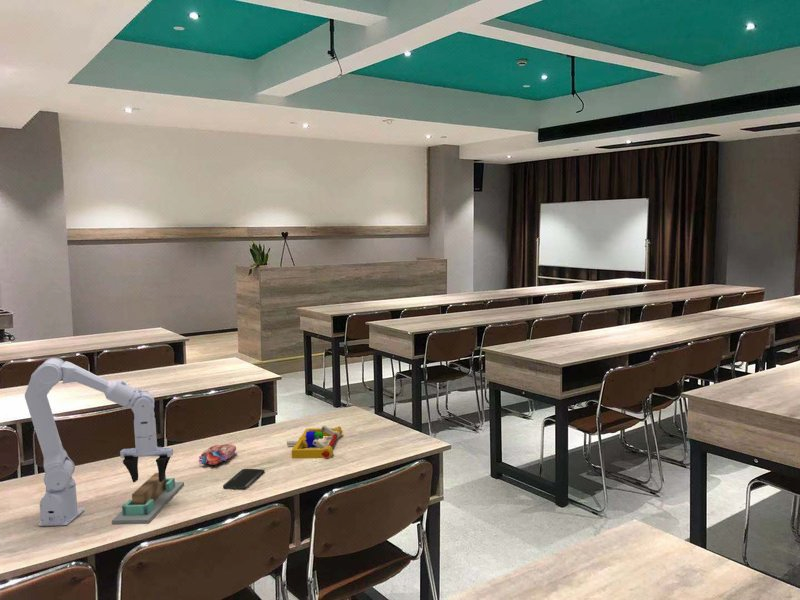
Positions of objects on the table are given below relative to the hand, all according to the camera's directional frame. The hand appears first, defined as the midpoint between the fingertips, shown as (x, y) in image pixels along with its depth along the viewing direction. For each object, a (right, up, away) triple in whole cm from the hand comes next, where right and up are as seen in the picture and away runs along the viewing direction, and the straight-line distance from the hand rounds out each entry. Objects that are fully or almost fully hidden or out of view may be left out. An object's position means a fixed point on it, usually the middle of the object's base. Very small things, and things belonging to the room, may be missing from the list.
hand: (148, 480), depth 179 cm
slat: (0, -6, +1) cm, 6 cm away
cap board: (0, -7, +1) cm, 7 cm away
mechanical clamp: (+41, -2, +48) cm, 63 cm away
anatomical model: (+9, -4, +34) cm, 36 cm away
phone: (+24, -5, +16) cm, 29 cm away
